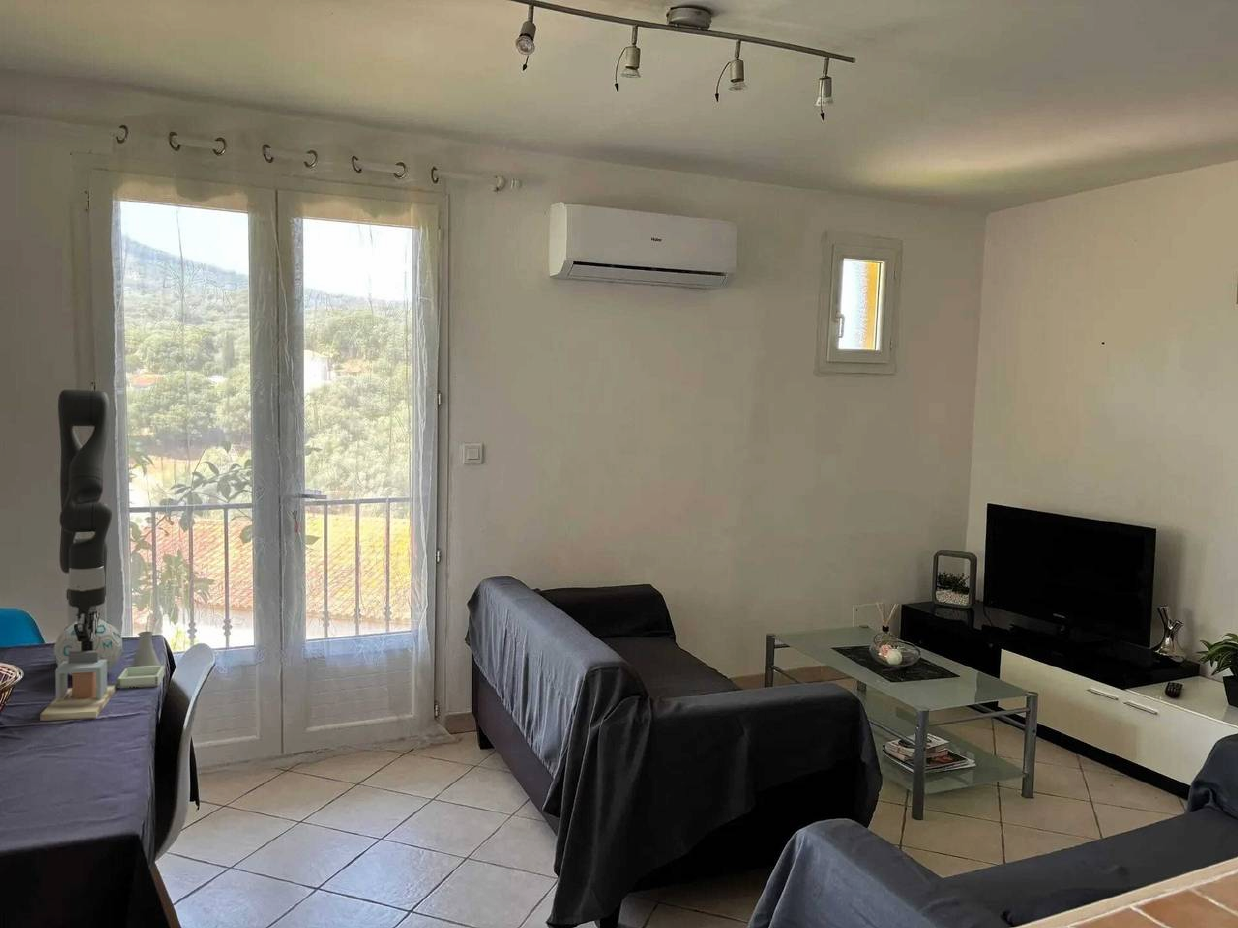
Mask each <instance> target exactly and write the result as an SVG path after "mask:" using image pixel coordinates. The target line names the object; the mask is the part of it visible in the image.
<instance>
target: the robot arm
mask: <svg viewBox="0 0 1238 928" xmlns="http://www.w3.org/2000/svg"><path fill="white" fill-rule="evenodd" d="M57 414H58V425H59V426H58V427H59V439H60V469H59V470H60V471H59V473H60V474H59V484H60V485H59V486H60V487H59V491H60V493H59V495H60V514H59V525H60V541H59V543H60V544H59V545H60V546H59V566H60V569H61V572H63V573H64V574H68V576H67V580H68V581H67V582H68V584H67V585H68V586H67V587H68V588H66V589H67V590H66V627H68V626H69V625H71V624H72V623H75V622H77V624H75V625H74V629H75V633H76V636H77V639H78V641H80V642H81V650H82V651H94V646H93V639H94V638H95V635H96V633H97V627H98V621H99V619H100V620H102V621H106V622H108V621H107V613H108V612H107V610H108V609H107V563H108V562H107V560H108V546H107V542H106V537H107V535H108V532H109V528H110V526H111V523H112V522H111V521H112V518H113V511H112V508H111V507H110V506H109V504H108V503H106V502H103V501H101V502H100V499H101V497H102V493H103V491H104V458H105V452H106V445H107V440H108V432H109V425H110V423H109V421H110V399H109V396H108V394H107V393H106V392H105V391H103V390H90V389H88V390H87V389H63V390H61V391H60V393H59V396H58V401H57ZM75 427H92V428H93V431H92V433H91V435H90V437H89V438H88V440H87V441H86V442H85V443H84V444H82V443H81V442H80V440H79V438H78V435H77V433H76V431H75V430H76V429H75ZM77 533H94V534H93V536H91V537H90V538H75V537H76V535H77Z"/></svg>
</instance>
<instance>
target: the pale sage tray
mask: <svg viewBox="0 0 1238 928" xmlns="http://www.w3.org/2000/svg"><path fill="white" fill-rule="evenodd" d="M165 668H166V667H165V665H161V666H146V667H131V666H129V667H125V668H124V669H123V671H122V672H121V673H120V674H119V676H118V677H117V678H116V679H117V681H116V682H117V684H116V685H117V686H116V687H117V688H120V689H135V688H136V687H138V688H152V687H153V688H154V687H156V688H157V687H158V686H159V684H161V681H162V680H163V678H164V676H166V675H165V673H166V671H165ZM130 687H131V688H130ZM133 687H135V688H133Z"/></svg>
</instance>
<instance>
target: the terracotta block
mask: <svg viewBox="0 0 1238 928" xmlns="http://www.w3.org/2000/svg"><path fill="white" fill-rule="evenodd" d="M96 687H97V676H96V672H80V673H73V676H72V688H73V695H72V699H77V698H94V697H97V691H96Z"/></svg>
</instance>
